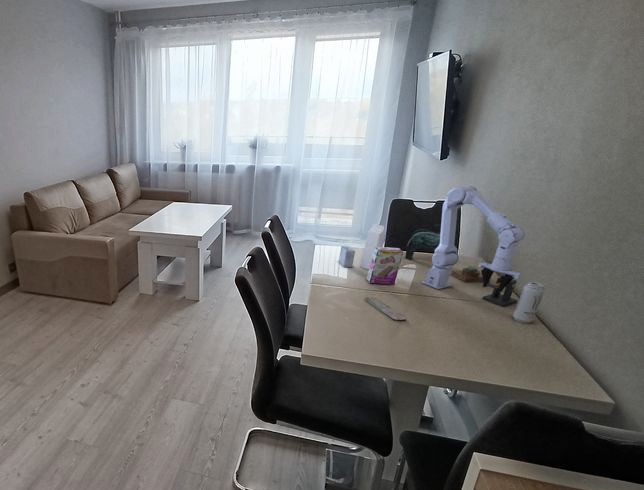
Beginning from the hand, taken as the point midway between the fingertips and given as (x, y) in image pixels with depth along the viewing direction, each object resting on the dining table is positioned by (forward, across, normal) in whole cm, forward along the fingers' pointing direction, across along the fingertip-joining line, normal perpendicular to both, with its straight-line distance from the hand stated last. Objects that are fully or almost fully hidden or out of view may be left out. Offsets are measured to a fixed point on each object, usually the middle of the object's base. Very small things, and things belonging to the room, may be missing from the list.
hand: (492, 289), depth 168 cm
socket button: (+3, +21, -23) cm, 31 cm away
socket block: (+7, +21, -23) cm, 32 cm away
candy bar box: (+7, +34, +22) cm, 41 cm away
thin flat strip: (+7, +14, +44) cm, 47 cm away
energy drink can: (+7, -14, +2) cm, 16 cm away
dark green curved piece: (+7, +45, -25) cm, 52 cm away
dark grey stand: (+7, 0, -9) cm, 11 cm away
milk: (+7, +50, +11) cm, 52 cm away
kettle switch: (0, 0, -5) cm, 5 cm away
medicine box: (+7, +58, +19) cm, 62 cm away
